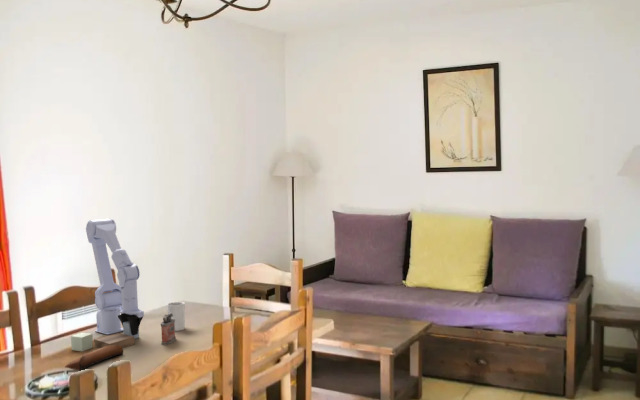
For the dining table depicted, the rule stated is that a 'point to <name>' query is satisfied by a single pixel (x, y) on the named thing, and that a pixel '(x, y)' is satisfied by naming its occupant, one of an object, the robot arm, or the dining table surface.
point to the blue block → (129, 330)
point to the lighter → (168, 329)
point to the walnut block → (114, 340)
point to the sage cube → (82, 341)
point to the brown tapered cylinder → (95, 357)
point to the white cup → (177, 314)
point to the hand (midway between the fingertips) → (131, 333)
